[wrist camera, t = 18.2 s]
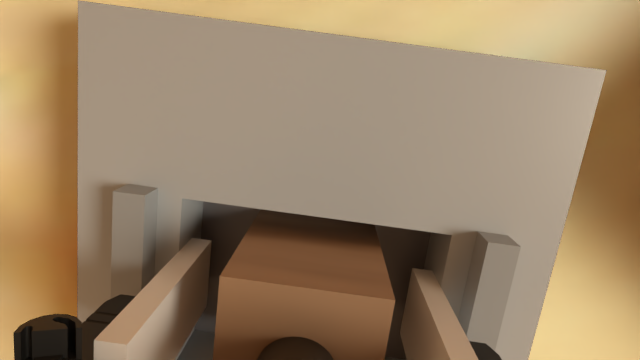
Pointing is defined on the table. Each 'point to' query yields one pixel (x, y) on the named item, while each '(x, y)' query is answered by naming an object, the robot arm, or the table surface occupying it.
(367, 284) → the plug
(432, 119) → the socket plate
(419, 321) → the robot arm
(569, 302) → the table surface
